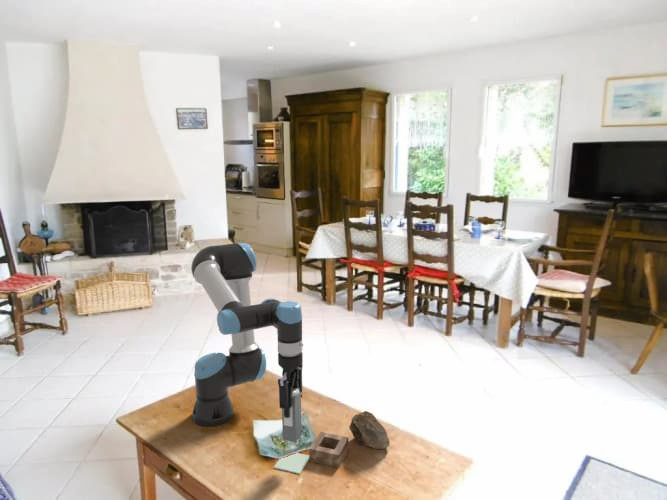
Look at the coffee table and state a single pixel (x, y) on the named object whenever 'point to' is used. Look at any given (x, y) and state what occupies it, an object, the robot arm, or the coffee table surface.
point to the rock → (369, 431)
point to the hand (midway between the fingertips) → (291, 420)
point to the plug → (295, 430)
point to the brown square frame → (329, 449)
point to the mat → (293, 463)
